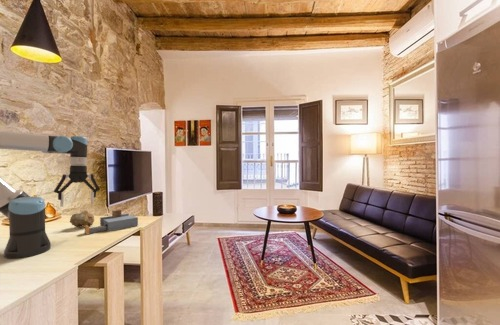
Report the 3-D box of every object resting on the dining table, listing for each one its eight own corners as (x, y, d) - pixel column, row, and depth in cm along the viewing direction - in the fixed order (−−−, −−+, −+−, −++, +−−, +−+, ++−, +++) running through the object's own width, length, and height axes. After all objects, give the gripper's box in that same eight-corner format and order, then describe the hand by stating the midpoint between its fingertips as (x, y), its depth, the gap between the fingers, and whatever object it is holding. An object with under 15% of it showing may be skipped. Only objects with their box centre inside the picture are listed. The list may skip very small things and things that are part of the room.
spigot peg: (114, 225, 151) (114, 211, 151) (112, 224, 154) (112, 210, 154) (121, 224, 154) (121, 210, 154) (119, 223, 157) (119, 209, 157)
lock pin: (86, 234, 133) (86, 227, 133) (84, 232, 137) (84, 225, 137) (115, 229, 143) (115, 222, 143) (113, 227, 147) (113, 220, 146)
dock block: (108, 231, 140) (108, 222, 140) (100, 225, 152) (100, 217, 152) (137, 225, 151) (137, 217, 151) (128, 221, 163) (127, 213, 163)
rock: (84, 229, 144) (84, 212, 144) (67, 229, 144) (66, 212, 144) (97, 224, 156) (97, 208, 156) (81, 224, 156) (81, 208, 156)
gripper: (50, 164, 122) (48, 208, 122) (106, 165, 140) (105, 203, 140) (47, 164, 128) (46, 206, 127) (102, 165, 145) (101, 202, 145)
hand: (77, 205), depth 133 cm, fingers open, 13 cm apart
